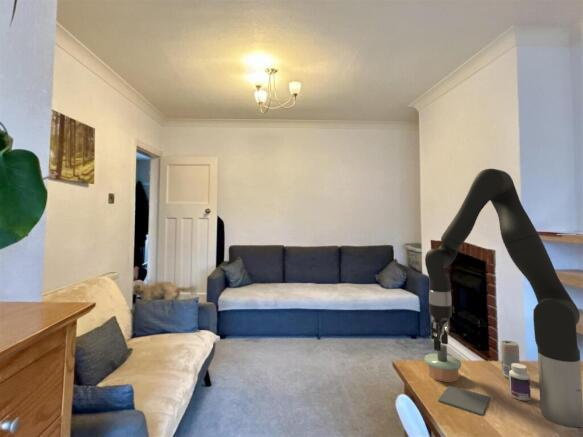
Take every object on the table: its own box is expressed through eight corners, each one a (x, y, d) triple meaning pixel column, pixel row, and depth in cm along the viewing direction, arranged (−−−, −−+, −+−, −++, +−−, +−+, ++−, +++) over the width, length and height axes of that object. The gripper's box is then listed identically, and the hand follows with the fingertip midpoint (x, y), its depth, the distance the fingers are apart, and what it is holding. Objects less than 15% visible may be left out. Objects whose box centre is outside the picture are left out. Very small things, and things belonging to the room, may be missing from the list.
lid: (464, 361, 116) (464, 345, 116) (455, 373, 107) (455, 355, 107) (430, 353, 124) (430, 338, 124) (419, 363, 115) (419, 347, 115)
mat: (490, 398, 99) (490, 396, 99) (482, 415, 90) (482, 414, 90) (449, 386, 107) (449, 384, 107) (438, 401, 98) (438, 399, 98)
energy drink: (514, 373, 115) (513, 340, 116) (523, 380, 110) (522, 345, 110) (499, 373, 116) (497, 340, 116) (507, 380, 110) (506, 345, 111)
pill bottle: (534, 402, 96) (533, 369, 97) (515, 400, 98) (513, 368, 98) (525, 393, 102) (523, 362, 102) (506, 391, 103) (505, 361, 103)
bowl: (461, 374, 115) (461, 361, 115) (454, 385, 108) (453, 371, 108) (433, 367, 122) (432, 355, 122) (424, 376, 114) (423, 363, 115)
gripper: (445, 308, 108) (446, 355, 108) (456, 300, 119) (457, 343, 118) (422, 304, 113) (423, 350, 113) (435, 297, 124) (436, 339, 123)
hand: (441, 347), depth 115 cm, fingers open, 8 cm apart
